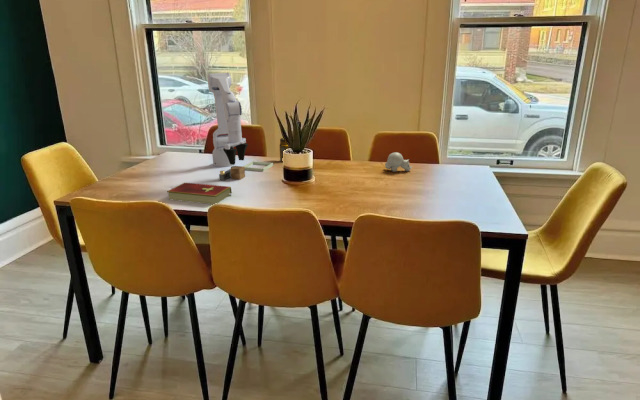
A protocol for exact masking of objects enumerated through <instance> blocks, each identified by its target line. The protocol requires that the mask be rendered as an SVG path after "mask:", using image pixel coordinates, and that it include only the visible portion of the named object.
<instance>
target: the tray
mask: <svg viewBox="0 0 640 400" xmlns="http://www.w3.org/2000/svg"><path fill="white" fill-rule="evenodd" d="M253 165H261V166H265V167H263V168H262V167H261V168H259V167H251V166H253ZM242 167H244V168H245V171H253V172H254V171H255V172H265V171H267V170H268V169H270V168H272V167H274V162H265V161H251V162H249V163H246V164H245V165H243V166H242Z"/></svg>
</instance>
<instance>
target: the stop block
mask: <svg viewBox="0 0 640 400" xmlns="http://www.w3.org/2000/svg"><path fill="white" fill-rule="evenodd" d="M234 166H235V167H232V166H231V167H232V168H231V167H230V168H229V169H231V177H230V178H231V179H230V180H238V181H241V180H242V179H244V178H245V177H246V172H245V171H246V170H245V168H244V167H243V166H239V165H234Z"/></svg>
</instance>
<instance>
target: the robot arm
mask: <svg viewBox="0 0 640 400" xmlns="http://www.w3.org/2000/svg"><path fill="white" fill-rule="evenodd" d="M207 86H208V92H210V93H212V95H213V97H214V105H215V112H216V121H217V128H216V129H215V130H214V132H213V133H212V137H213V138H212V143H213V147H214V148H213V150H212V164H213V167H214V166H215V167H219V168H229V167H230V168H231V167H232V166H236V157H237V158H238V161H245V156H246V151H247V148H248V146H249V145H248V143H247V141H246V140H247V139H246V138H247V137H246V138H245V137H242V136H243V133H242V119H241V116H242V115H243V114H242V113H243V111H242V104H241V101H240V100H237V98H236V96H235V93H234V92H233V91H231V90H230V88H231V86H232V76H231V73H229V72H221V73H220V72H215V73H210V72H209V73H208V74H207ZM234 147H235V148H234ZM236 155H237V156H236Z"/></svg>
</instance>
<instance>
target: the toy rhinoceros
mask: <svg viewBox="0 0 640 400" xmlns="http://www.w3.org/2000/svg"><path fill="white" fill-rule="evenodd" d="M409 160H410V159H404V157H403V155H402V153H400V152H397V151H396V152H392V153H390V154H388V157H387V161H386V162H385V164H384V165H385V168H386V169H387V170H390V171H392V172H393V173H396V172H397V171H398V168H401V169H403V170H404V171H405V172H410V171H411V169H412V168H413V165H410V161H409Z"/></svg>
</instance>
